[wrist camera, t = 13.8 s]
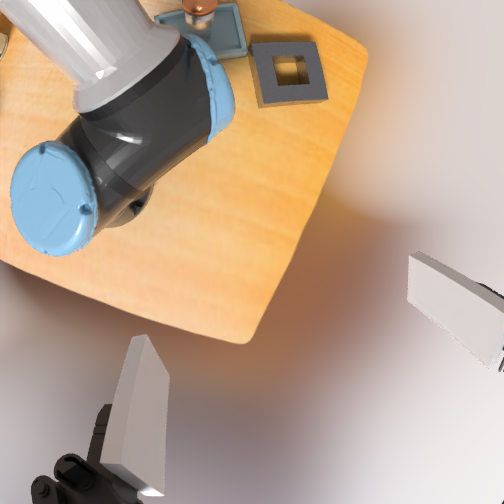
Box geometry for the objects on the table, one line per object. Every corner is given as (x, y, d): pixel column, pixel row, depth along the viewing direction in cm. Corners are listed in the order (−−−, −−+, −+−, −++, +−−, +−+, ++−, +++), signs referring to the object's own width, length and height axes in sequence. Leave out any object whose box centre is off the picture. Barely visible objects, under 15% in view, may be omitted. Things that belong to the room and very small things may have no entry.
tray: (162, 71, 36) (160, 66, 34) (156, 22, 32) (154, 16, 30) (245, 56, 37) (247, 51, 35) (234, 9, 34) (236, 2, 31)
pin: (187, 48, 35) (184, 14, 23) (183, 27, 33) (180, -10, 21) (214, 43, 35) (221, 8, 23) (210, 22, 33) (215, -15, 21)
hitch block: (258, 108, 41) (263, 104, 37) (247, 51, 37) (251, 43, 33) (318, 103, 42) (328, 99, 38) (307, 49, 38) (315, 41, 35)
